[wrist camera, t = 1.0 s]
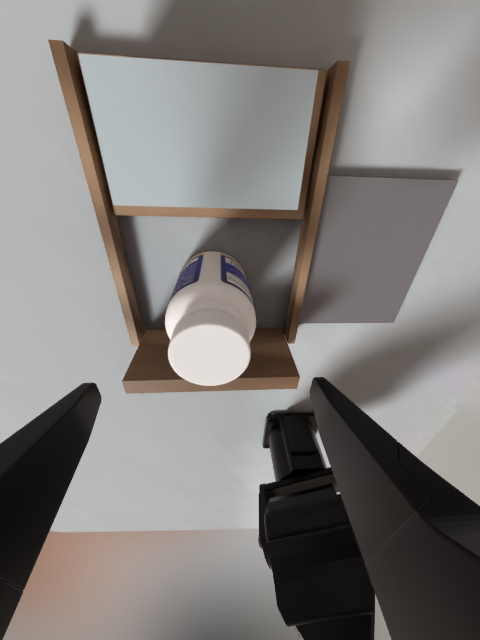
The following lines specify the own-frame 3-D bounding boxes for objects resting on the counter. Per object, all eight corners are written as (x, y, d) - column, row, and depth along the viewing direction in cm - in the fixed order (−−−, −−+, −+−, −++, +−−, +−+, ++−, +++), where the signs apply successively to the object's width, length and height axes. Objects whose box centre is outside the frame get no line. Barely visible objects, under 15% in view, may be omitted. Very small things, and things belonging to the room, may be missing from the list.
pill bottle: (185, 313, 20) (164, 398, 13) (174, 251, 17) (137, 314, 10) (248, 309, 20) (263, 391, 13) (246, 248, 17) (265, 306, 10)
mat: (389, 318, 22) (393, 322, 21) (293, 319, 21) (295, 323, 20) (450, 180, 16) (458, 180, 15) (320, 175, 15) (323, 175, 15)
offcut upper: (289, 205, 13) (297, 210, 12) (126, 201, 13) (113, 205, 11) (304, 84, 11) (318, 70, 9) (99, 71, 10) (77, 53, 9)
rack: (289, 338, 22) (309, 388, 17) (138, 340, 21) (112, 393, 16) (337, 72, 13) (413, 7, 8) (67, 53, 12) (-53, -37, 7)
